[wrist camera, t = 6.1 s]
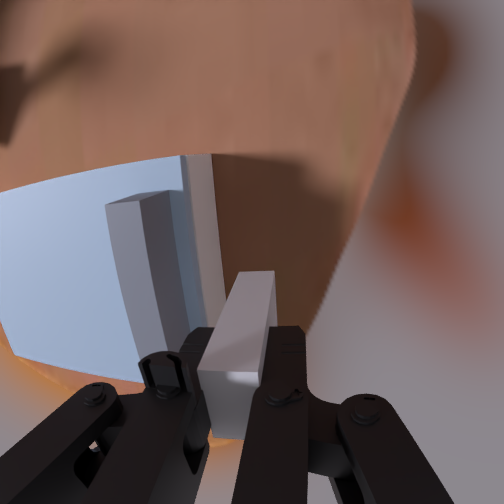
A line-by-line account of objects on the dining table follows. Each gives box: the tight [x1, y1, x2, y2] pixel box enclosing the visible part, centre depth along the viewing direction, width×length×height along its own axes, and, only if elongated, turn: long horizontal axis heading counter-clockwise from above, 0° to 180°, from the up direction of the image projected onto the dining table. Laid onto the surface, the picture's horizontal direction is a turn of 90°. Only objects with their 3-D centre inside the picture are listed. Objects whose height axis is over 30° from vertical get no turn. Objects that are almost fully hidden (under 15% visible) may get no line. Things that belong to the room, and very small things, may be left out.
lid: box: [0, 155, 207, 383], centre depth 16 cm, size 18×13×4 cm
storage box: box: [186, 154, 226, 327], centre depth 20 cm, size 18×13×4 cm
